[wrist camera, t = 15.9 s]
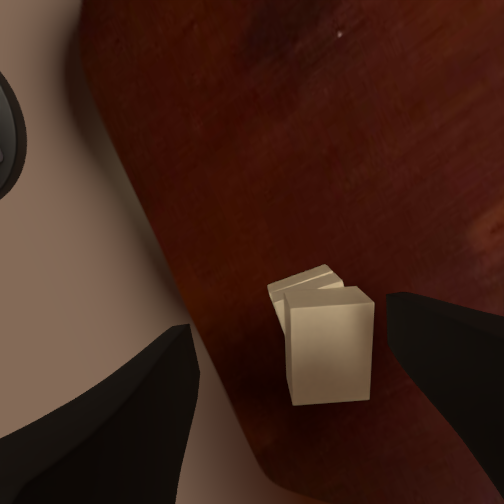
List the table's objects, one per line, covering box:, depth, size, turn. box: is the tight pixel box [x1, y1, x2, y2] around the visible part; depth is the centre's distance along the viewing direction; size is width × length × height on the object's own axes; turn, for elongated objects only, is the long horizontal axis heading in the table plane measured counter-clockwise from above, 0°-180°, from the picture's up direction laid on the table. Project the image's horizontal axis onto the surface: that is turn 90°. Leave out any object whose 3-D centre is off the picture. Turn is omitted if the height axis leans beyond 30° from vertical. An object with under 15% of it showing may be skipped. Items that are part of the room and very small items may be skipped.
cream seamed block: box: [267, 264, 344, 335], centre depth 19 cm, size 6×4×3 cm
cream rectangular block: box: [284, 286, 374, 406], centre depth 16 cm, size 6×4×2 cm
